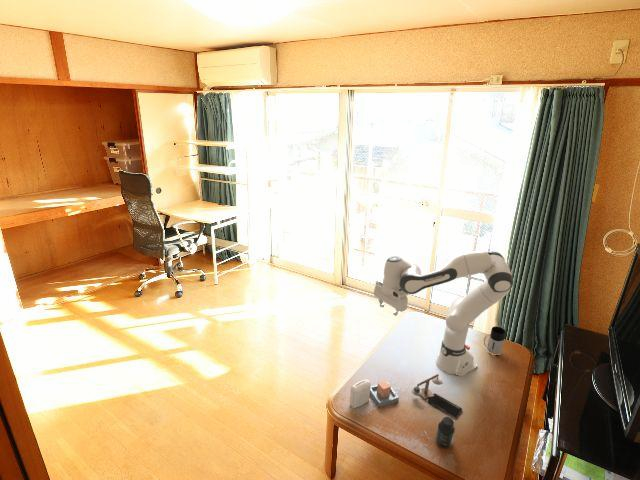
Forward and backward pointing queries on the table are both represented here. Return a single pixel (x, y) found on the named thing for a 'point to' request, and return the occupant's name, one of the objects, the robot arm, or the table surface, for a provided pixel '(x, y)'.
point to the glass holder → (495, 340)
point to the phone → (445, 406)
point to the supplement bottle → (445, 432)
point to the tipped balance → (426, 387)
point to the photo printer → (360, 393)
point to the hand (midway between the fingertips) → (388, 310)
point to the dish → (384, 401)
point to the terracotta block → (383, 389)
